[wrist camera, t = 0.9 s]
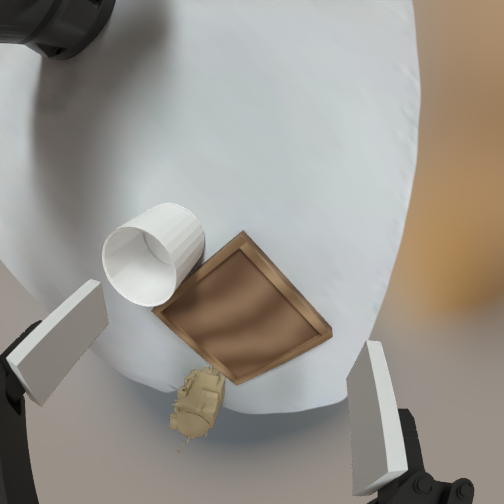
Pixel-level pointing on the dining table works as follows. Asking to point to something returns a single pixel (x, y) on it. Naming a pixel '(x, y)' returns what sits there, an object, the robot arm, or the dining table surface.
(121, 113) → the dining table surface
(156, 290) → the mug
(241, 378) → the tray
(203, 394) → the robot
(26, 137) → the dining table surface
